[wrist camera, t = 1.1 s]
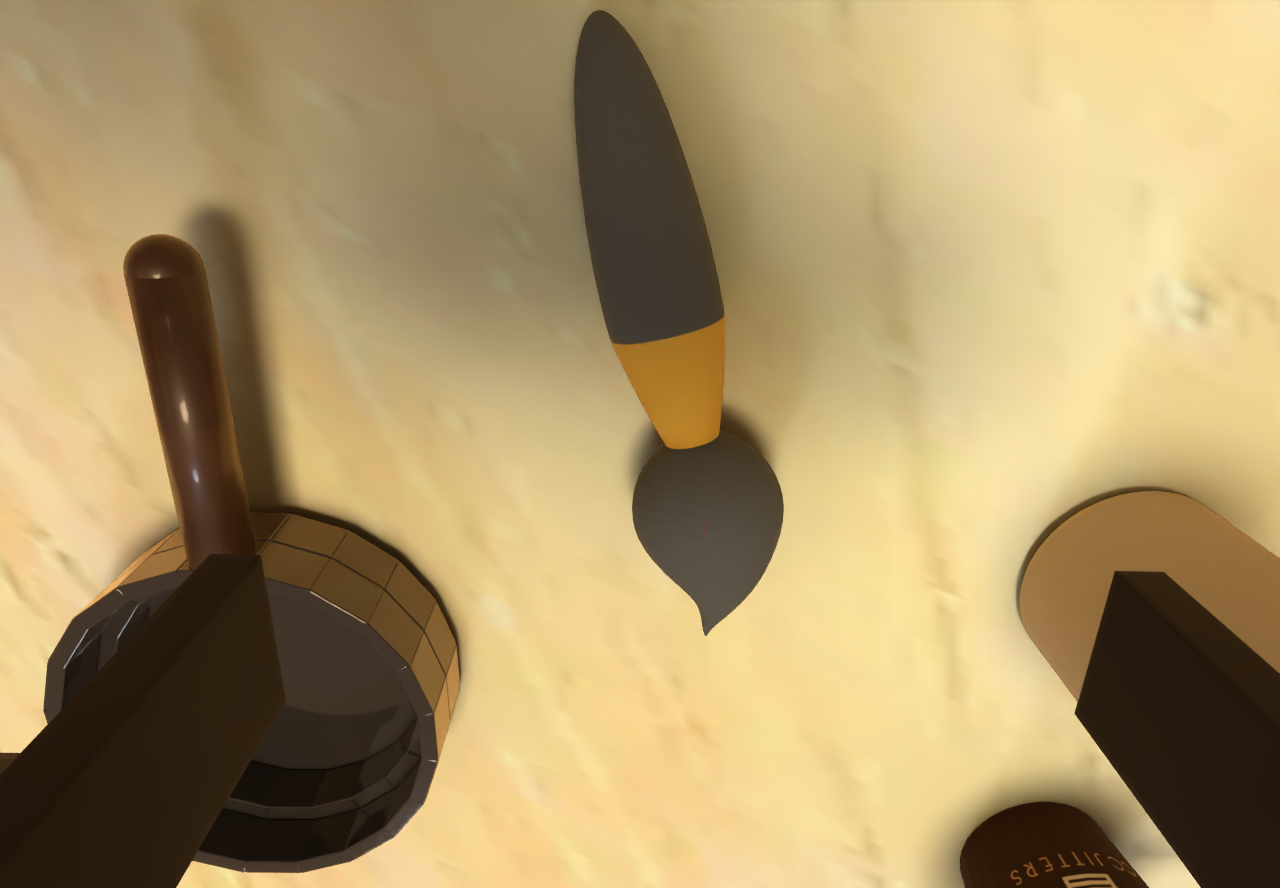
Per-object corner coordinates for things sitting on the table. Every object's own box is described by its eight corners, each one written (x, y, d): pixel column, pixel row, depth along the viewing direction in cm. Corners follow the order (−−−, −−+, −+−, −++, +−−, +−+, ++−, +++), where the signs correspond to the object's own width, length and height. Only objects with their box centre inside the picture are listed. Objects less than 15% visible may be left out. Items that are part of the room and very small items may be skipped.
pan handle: (141, 228, 23) (99, 239, 22) (211, 230, 24) (176, 241, 22) (212, 571, 28) (183, 604, 26) (271, 572, 28) (246, 605, 26)
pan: (84, 502, 30) (-5, 568, 26) (450, 508, 30) (421, 574, 26) (159, 779, 35) (95, 871, 31) (470, 783, 35) (449, 875, 31)
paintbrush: (478, 57, 24) (443, 48, 20) (639, -1, 24) (642, -24, 19) (672, 598, 32) (680, 684, 27) (798, 564, 31) (828, 645, 26)
